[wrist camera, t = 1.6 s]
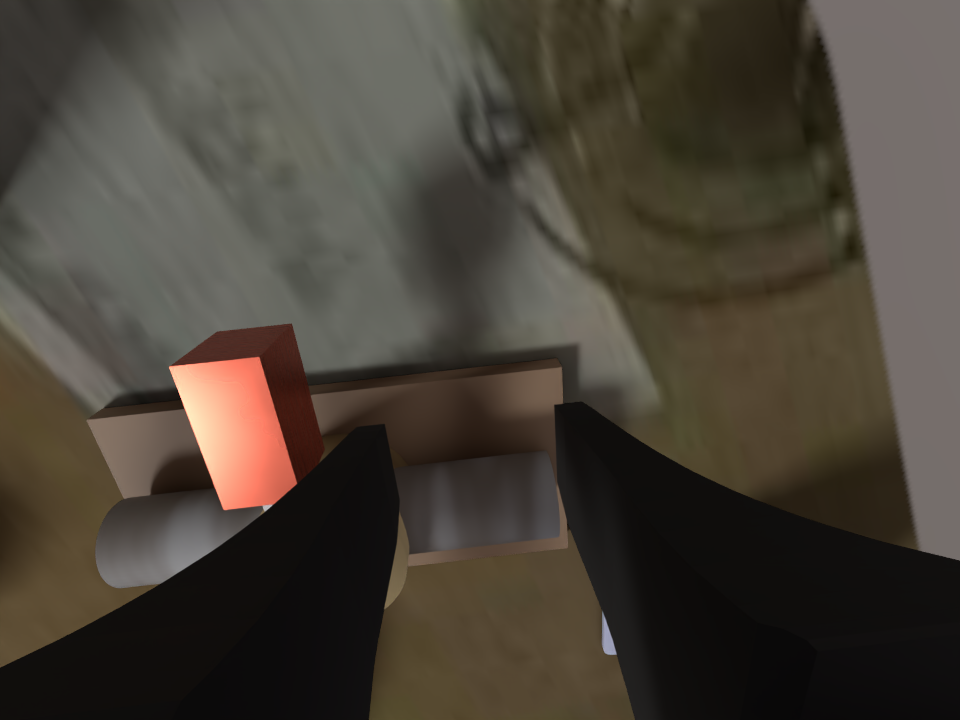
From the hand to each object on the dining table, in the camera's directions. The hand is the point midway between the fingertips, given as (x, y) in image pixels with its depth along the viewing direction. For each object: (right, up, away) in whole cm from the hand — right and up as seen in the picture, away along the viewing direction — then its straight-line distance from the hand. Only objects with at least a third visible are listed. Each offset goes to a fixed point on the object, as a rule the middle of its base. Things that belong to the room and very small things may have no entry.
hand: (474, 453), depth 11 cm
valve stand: (-6, -4, +12) cm, 14 cm away
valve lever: (-6, -2, +6) cm, 8 cm away
